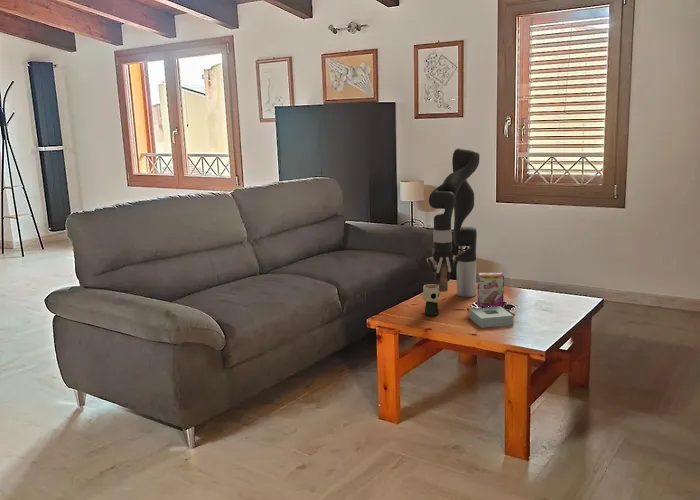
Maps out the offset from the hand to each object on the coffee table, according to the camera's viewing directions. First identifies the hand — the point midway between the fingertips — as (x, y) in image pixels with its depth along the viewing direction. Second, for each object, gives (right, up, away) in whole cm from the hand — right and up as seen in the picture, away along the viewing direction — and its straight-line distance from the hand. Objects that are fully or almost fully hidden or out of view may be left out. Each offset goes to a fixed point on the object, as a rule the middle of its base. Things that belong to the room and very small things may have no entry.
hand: (443, 280), depth 270 cm
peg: (0, -4, +1) cm, 4 cm away
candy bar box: (+24, -14, +21) cm, 35 cm away
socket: (+21, -17, +5) cm, 27 cm away
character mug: (-3, -16, +17) cm, 23 cm away
